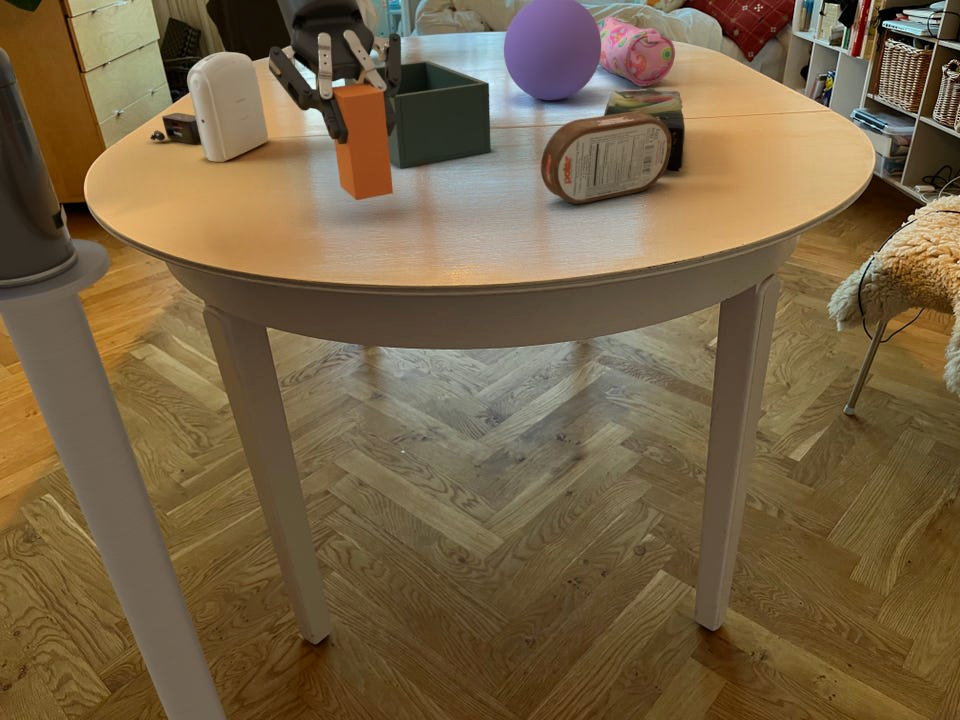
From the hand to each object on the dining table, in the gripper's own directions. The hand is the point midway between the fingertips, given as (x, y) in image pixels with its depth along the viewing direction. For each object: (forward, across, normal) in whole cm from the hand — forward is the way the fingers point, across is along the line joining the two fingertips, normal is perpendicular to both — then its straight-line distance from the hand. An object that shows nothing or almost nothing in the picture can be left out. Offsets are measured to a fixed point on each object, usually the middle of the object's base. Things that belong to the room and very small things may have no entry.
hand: (366, 135), depth 74 cm
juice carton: (+3, -37, -9) cm, 38 cm away
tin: (+11, -24, -2) cm, 27 cm away
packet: (+3, 0, -6) cm, 6 cm away
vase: (-54, -25, -66) cm, 89 cm away
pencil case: (-24, -63, -36) cm, 76 cm away
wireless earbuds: (-25, +13, -37) cm, 47 cm away
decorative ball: (-19, -43, -31) cm, 56 cm away
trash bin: (-11, -15, -23) cm, 30 cm away
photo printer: (-18, +7, -30) cm, 36 cm away
